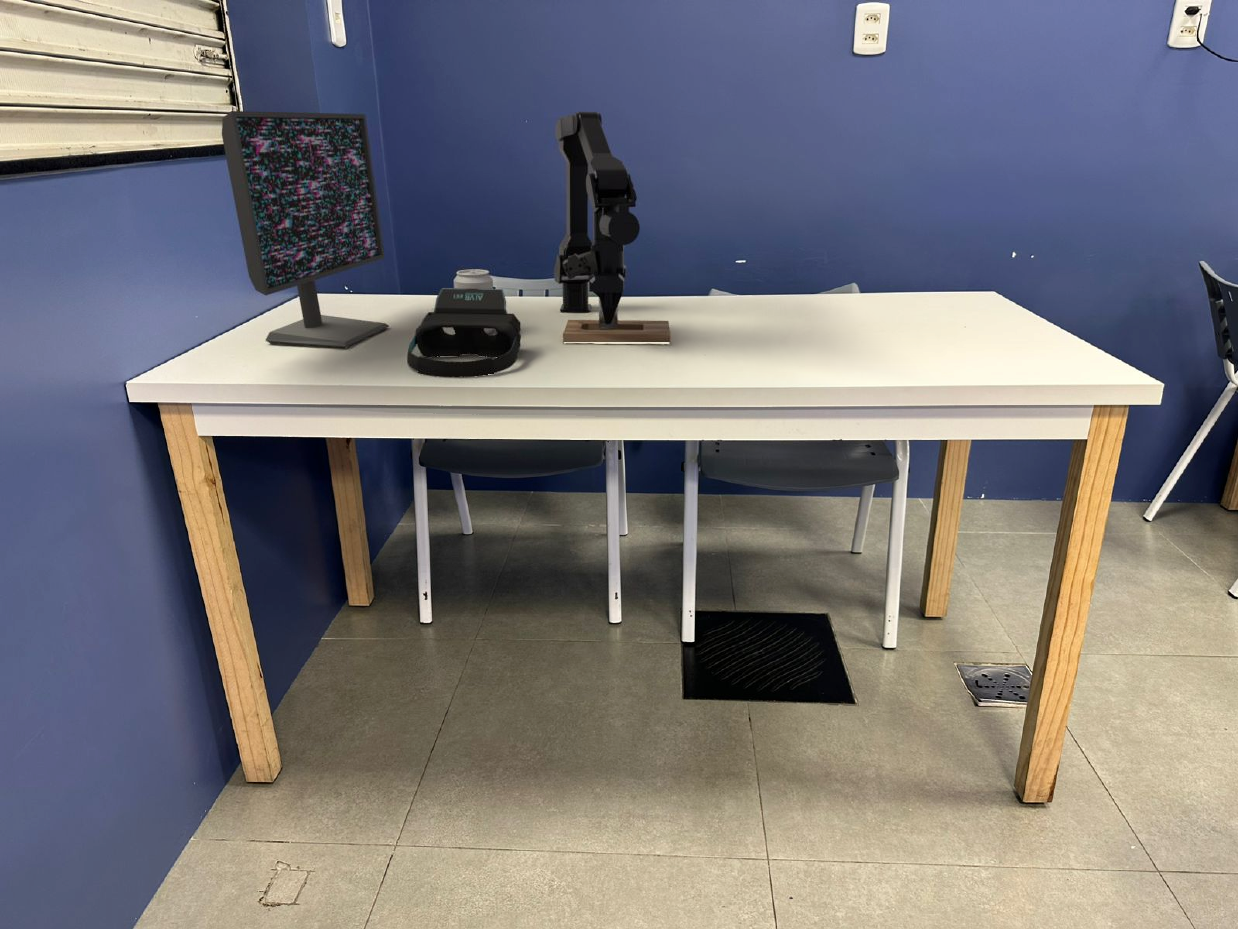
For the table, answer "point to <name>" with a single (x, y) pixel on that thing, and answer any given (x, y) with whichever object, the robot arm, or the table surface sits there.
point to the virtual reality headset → (466, 334)
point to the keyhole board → (617, 331)
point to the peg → (602, 322)
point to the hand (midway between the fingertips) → (608, 321)
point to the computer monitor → (304, 211)
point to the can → (474, 282)
